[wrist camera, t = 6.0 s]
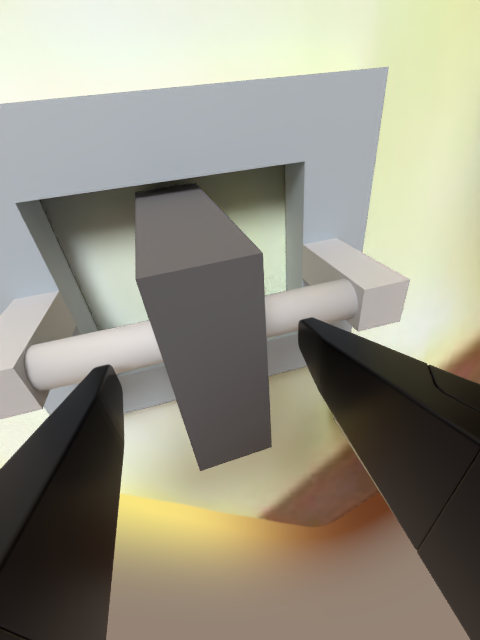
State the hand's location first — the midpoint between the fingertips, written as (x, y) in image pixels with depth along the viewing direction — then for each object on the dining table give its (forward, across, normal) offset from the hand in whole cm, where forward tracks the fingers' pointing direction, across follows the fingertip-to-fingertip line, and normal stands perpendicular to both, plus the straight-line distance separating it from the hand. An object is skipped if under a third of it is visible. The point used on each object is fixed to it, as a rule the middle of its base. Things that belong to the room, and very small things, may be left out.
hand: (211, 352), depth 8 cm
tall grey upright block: (+6, 0, 0) cm, 6 cm away
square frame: (+7, 0, 0) cm, 7 cm away
